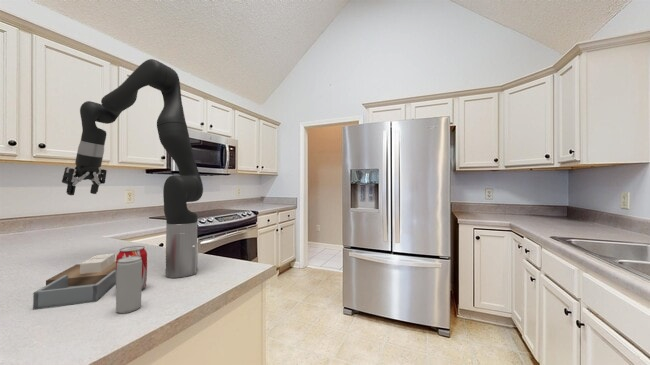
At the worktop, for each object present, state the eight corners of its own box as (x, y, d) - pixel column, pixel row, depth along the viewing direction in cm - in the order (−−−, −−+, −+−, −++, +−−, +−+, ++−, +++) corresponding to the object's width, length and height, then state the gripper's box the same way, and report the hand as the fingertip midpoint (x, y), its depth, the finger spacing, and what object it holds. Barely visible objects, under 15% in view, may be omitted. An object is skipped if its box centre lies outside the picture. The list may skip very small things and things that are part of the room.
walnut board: (133, 268, 92) (133, 259, 92) (116, 283, 77) (116, 273, 77) (76, 273, 86) (76, 264, 86) (45, 291, 71) (45, 280, 71)
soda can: (112, 298, 67) (113, 252, 68) (118, 288, 74) (119, 246, 74) (144, 293, 71) (145, 249, 71) (148, 284, 77) (149, 244, 77)
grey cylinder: (125, 305, 63) (126, 256, 64) (145, 304, 64) (146, 256, 64) (110, 314, 59) (111, 262, 59) (132, 313, 59) (133, 261, 59)
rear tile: (114, 262, 89) (114, 253, 89) (108, 266, 84) (108, 257, 84) (96, 263, 87) (96, 254, 87) (89, 268, 83) (89, 258, 83)
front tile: (107, 267, 83) (107, 258, 84) (100, 272, 79) (101, 262, 79) (88, 269, 82) (88, 259, 82) (79, 273, 77) (80, 263, 77)
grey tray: (116, 283, 77) (116, 270, 77) (96, 301, 65) (96, 285, 65) (64, 289, 73) (64, 275, 73) (33, 309, 61) (33, 292, 61)
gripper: (79, 154, 93) (70, 198, 93) (115, 157, 107) (107, 195, 107) (61, 150, 93) (53, 193, 94) (100, 153, 108) (92, 191, 108)
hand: (82, 194), depth 101 cm, fingers open, 8 cm apart
